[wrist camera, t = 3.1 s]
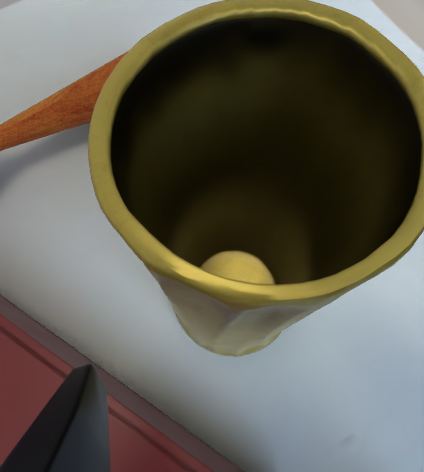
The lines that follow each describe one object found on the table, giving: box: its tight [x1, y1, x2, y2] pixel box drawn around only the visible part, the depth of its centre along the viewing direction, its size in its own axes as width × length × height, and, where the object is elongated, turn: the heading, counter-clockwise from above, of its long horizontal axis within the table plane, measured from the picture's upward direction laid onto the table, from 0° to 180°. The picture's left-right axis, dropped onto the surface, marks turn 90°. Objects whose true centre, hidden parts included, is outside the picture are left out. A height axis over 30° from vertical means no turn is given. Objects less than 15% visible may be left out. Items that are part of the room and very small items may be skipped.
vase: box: [88, 0, 424, 356], centre depth 12 cm, size 6×6×14 cm
